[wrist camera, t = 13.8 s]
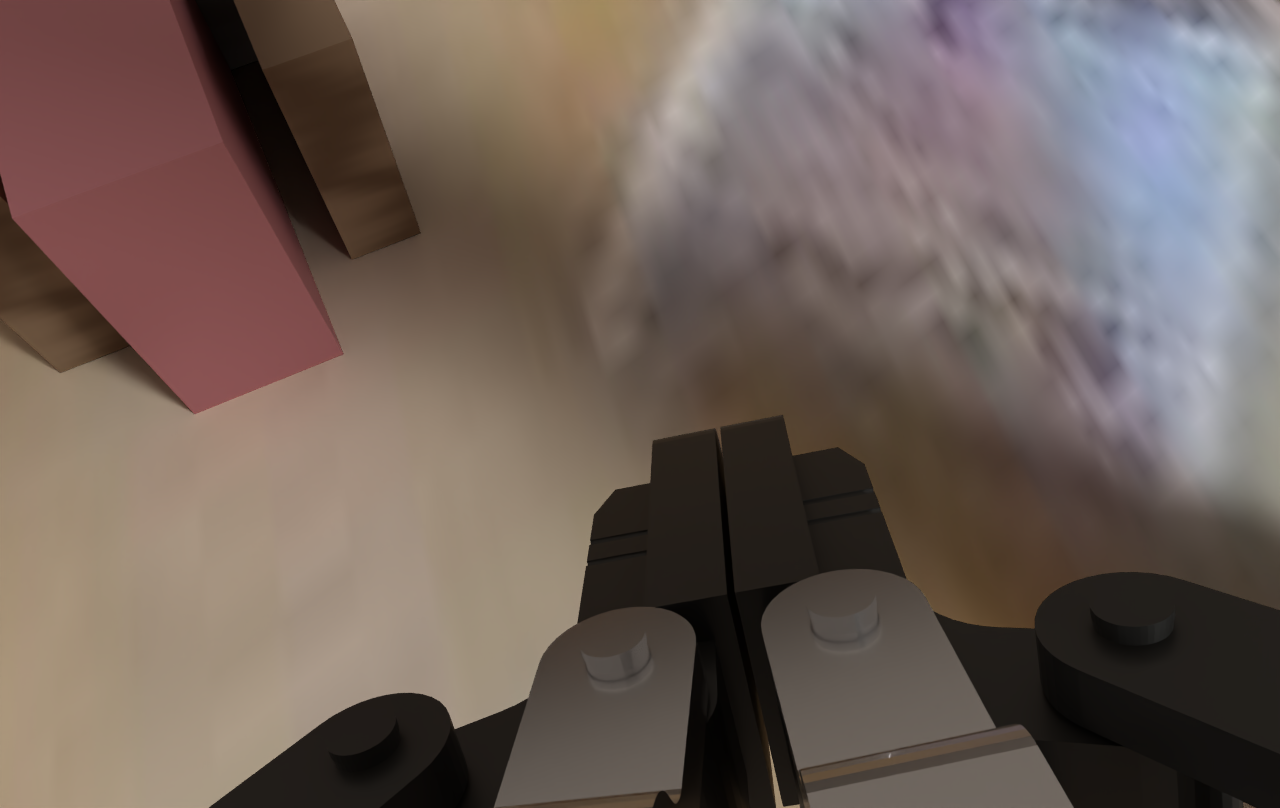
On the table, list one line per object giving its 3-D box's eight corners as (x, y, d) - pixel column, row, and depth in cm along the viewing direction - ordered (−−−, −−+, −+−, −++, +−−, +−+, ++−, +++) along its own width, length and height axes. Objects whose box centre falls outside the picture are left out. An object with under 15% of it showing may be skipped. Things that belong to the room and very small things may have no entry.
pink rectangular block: (231, 71, 49) (95, -195, 37) (344, 355, 43) (223, 141, 31) (99, 118, 48) (-83, -142, 36) (195, 414, 42) (11, 218, 30)
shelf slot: (322, 16, 50) (237, -206, 40) (420, 232, 45) (352, 38, 35) (-4, 130, 48) (-181, -77, 38) (60, 372, 42) (-125, 206, 32)
